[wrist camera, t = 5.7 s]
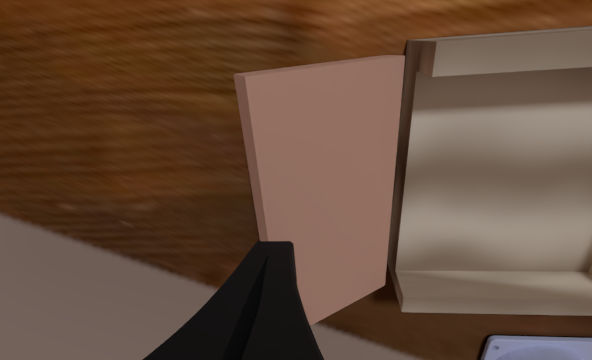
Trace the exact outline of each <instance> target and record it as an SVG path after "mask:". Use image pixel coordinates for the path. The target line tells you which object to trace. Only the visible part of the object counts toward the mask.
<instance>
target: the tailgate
mask: <svg viewBox="0 0 592 360" xmlns="http://www.w3.org/2000/svg"><path fill="white" fill-rule="evenodd" d="M404 64H405V56H399V55H383V56H375V57H367V58H359V59H351V60H343V61H335V62H327V63H319V64H311V65H303V66H295V67H287V68H279V69H271V70H263V71H255V72H247V73H239V74H234V80H235V86H236V92H237V98H238V105H239V111H240V117H241V124H242V130H243V136H244V143H245V149H246V155H247V161H248V168H249V174H250V180H251V187H252V193H253V199H254V206H255V212H256V218H257V225H258V231H259V237H260V241H291V242H292V243H293V244H294V255H295V265H296V276H297V287H298V291H299V294H300V298H301V301H302V304H303V308H304V311H305V314H306V317H307V320H308V322H309V325H310V326H311V325H312V324H314V323H316V322H318V321H320V320H322V319H324V318H325V317H327V316H329V315H331V314H333V313H335V312H337V311H338V310H340V309H342V308H344V307H346V306H348V305H350V304H351V303H353V302H355V301H357V300H359V299H361V298H362V297H364V296H366V295H368V294H370V293H372V292H374V291H375V290H377V289H379V288H381V287H383V286H385V279H386V268H387V257H388V245H389V234H390V223H391V211H392V200H393V189H394V177H395V166H396V155H397V143H398V132H399V121H400V109H401V98H402V87H403V75H404Z"/></svg>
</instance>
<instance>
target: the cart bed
mask: <svg viewBox="0 0 592 360" xmlns="http://www.w3.org/2000/svg"><path fill="white" fill-rule="evenodd" d="M388 267H389V270H390V273H391V277H392V280H393V284H394V287H395V291H396V294H397V298H398V301H399V305H400V308H401V312H426V313H478V314H531V315H583V316H592V26H585V27H572V28H559V29H546V30H533V31H520V32H506V33H493V34H480V35H467V36H454V37H441V38H428V39H415V40H407V50H406V61H405V72H404V84H403V95H402V106H401V117H400V128H399V139H398V151H397V162H396V173H395V184H394V195H393V207H392V218H391V229H390V240H389V251H388Z"/></svg>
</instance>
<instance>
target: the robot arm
mask: <svg viewBox="0 0 592 360" xmlns="http://www.w3.org/2000/svg"><path fill="white" fill-rule="evenodd" d="M143 360H324V358H323V356H322V354H321V352H320V350H319V348H318V345H317V343H316V340H315V338H314V335H313V333H312V330H311V328H310V325H309V322H308V320H307V317H306V314H305V311H304V308H303V304H302V301H301V298H300V294H299V291H298V287H297V276H296V265H295V255H294V244H293V243H292V242H291V241H258V242H257V243H256V244H255V245H254V246H253V247H252V249H251V250H250V251H249V253H248V254H247V255H246V257H245V258H244V259H243V261H242V262H241V263H240V265H239V266H238V267H237V268H236V270H235V271H234V272H233V273H232V274H231V276H230V277H229V278H228V279H227V280H226V282H225V283H224V284H223V285H222V286H221V287H220V289H219V290H218V291H217V292H216V293H215V294H214V295H213V296H212V297H211V298H210V300H209V301H208V302H207V303H206V304H205V305H204V306H203V307H202V308H201V309H200V310H199V311H198V312H197V313H196V314H195V315H194V316H193V317H192V318H191V319H190V320H189V321H188V322H186V323H185V324H184V325H183V326H182V327H181V328H180V329H179V330H178V331H177V332H176V333H174V334H173V335H172V336H171V337H170V338H169V339H167V340H166V341H165V342H164V343H163V344H161V345H160V346H159V347H158V348H157V349H155V350H154V351H153V352H152V353H151V354H149V355H148V356H147V357H145V358H144V359H143ZM481 360H592V338H576V337H538V336H501V335H494V336H490V337H489V338H488V340H487V343H486V346H485V348H484V351H483V354H482V357H481Z"/></svg>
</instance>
